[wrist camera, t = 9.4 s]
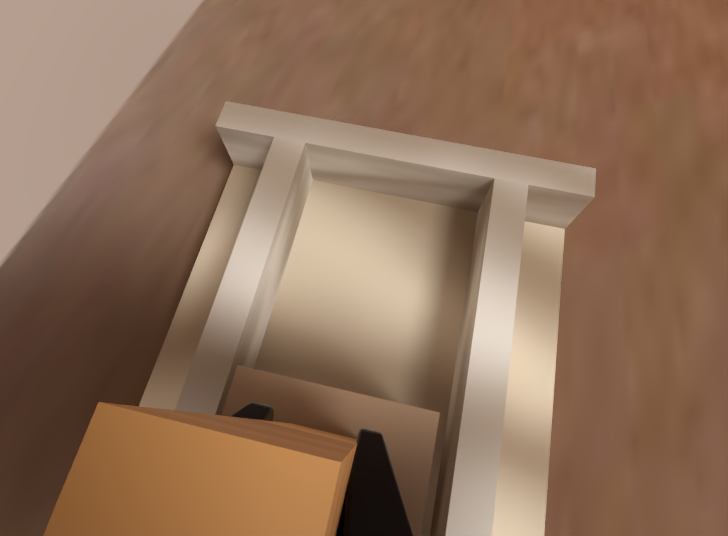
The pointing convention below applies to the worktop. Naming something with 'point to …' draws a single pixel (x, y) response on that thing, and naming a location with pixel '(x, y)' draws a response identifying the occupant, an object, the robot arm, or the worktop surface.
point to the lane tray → (389, 295)
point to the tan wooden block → (238, 463)
